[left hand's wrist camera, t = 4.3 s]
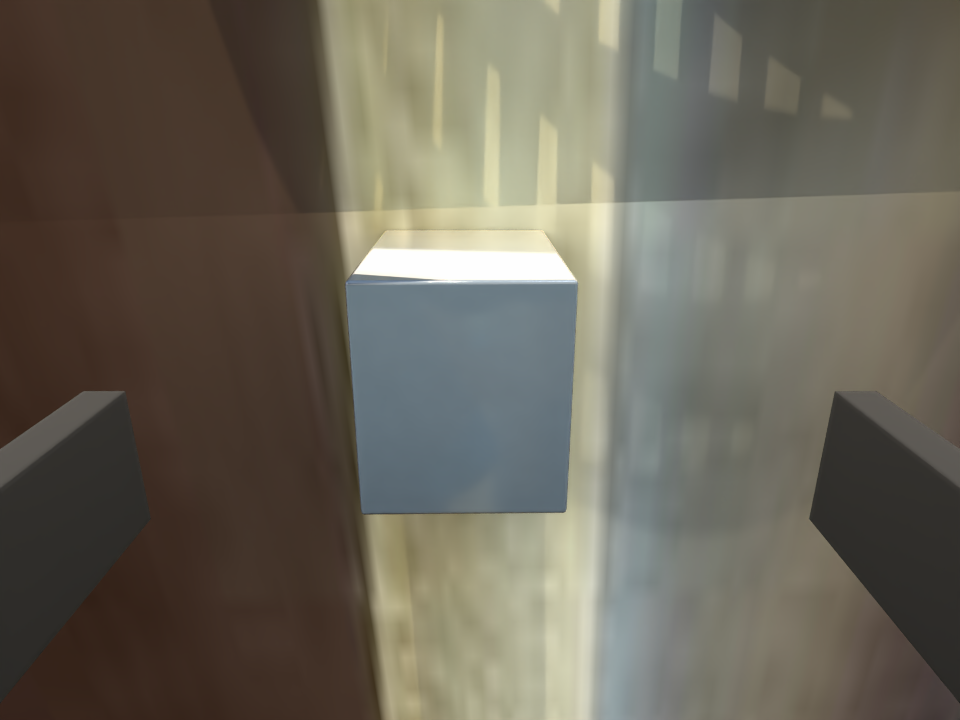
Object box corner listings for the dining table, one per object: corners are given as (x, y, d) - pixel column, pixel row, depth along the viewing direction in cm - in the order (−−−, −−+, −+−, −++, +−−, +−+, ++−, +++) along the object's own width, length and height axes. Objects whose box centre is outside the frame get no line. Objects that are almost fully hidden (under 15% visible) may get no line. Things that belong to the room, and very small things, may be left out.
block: (392, 399, 23) (360, 516, 16) (384, 229, 21) (344, 281, 14) (538, 398, 23) (566, 514, 16) (543, 229, 21) (578, 280, 14)
